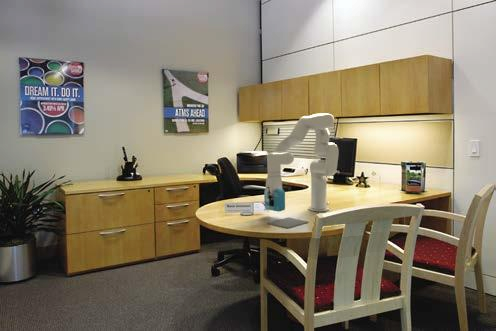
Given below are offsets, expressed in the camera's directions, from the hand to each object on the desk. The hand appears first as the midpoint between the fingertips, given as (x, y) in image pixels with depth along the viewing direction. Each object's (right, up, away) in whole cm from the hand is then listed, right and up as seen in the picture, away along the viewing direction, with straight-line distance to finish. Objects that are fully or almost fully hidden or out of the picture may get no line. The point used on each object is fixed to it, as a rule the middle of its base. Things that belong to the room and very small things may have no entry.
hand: (274, 205), depth 228 cm
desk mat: (+6, -8, -14) cm, 17 cm away
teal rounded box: (0, -3, 0) cm, 3 cm away
